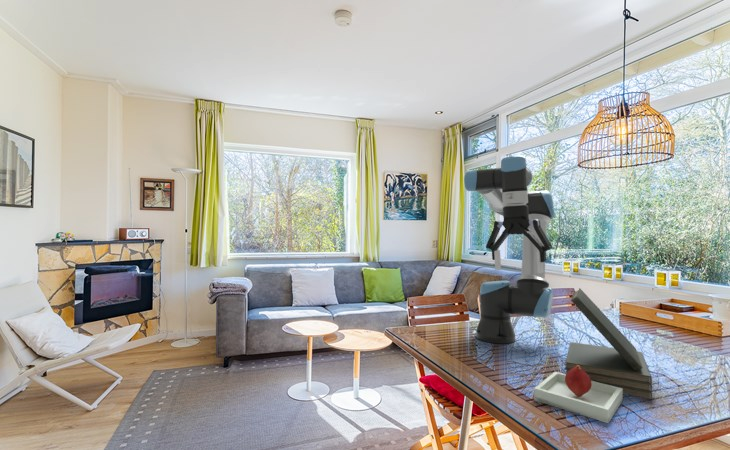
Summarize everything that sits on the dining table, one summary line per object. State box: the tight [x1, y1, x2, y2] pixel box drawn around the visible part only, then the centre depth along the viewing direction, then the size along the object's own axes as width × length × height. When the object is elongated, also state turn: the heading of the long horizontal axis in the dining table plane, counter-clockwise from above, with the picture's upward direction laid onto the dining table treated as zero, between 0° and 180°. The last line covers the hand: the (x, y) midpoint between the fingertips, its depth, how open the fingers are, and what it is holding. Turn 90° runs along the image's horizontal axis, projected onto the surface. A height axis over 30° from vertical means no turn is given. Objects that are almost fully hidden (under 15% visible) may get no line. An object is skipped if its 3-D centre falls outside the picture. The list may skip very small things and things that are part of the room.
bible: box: [564, 287, 653, 400], centre depth 108 cm, size 23×20×25 cm
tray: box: [533, 371, 624, 424], centre depth 92 cm, size 16×16×3 cm
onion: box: [565, 365, 592, 397], centre depth 92 cm, size 6×6×8 cm
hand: (518, 271), depth 115 cm, fingers open, 13 cm apart
